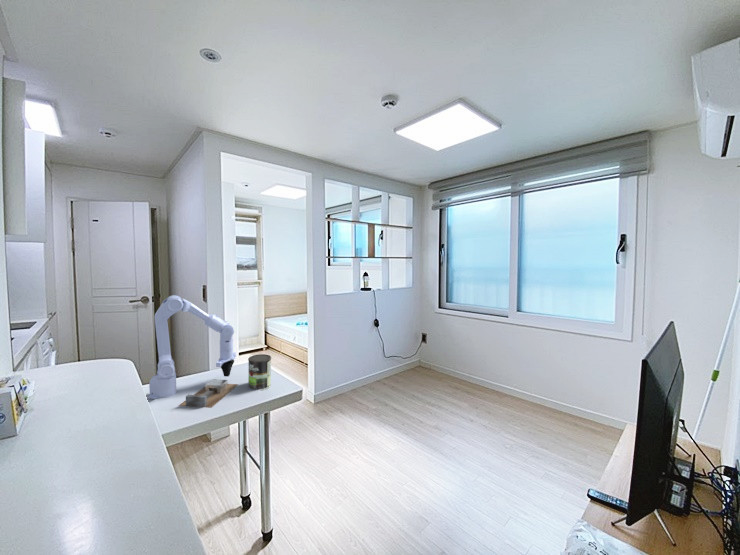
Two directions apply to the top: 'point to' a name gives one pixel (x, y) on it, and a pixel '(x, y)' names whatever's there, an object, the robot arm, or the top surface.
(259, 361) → the coffee can
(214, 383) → the block
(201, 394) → the slide rail board
